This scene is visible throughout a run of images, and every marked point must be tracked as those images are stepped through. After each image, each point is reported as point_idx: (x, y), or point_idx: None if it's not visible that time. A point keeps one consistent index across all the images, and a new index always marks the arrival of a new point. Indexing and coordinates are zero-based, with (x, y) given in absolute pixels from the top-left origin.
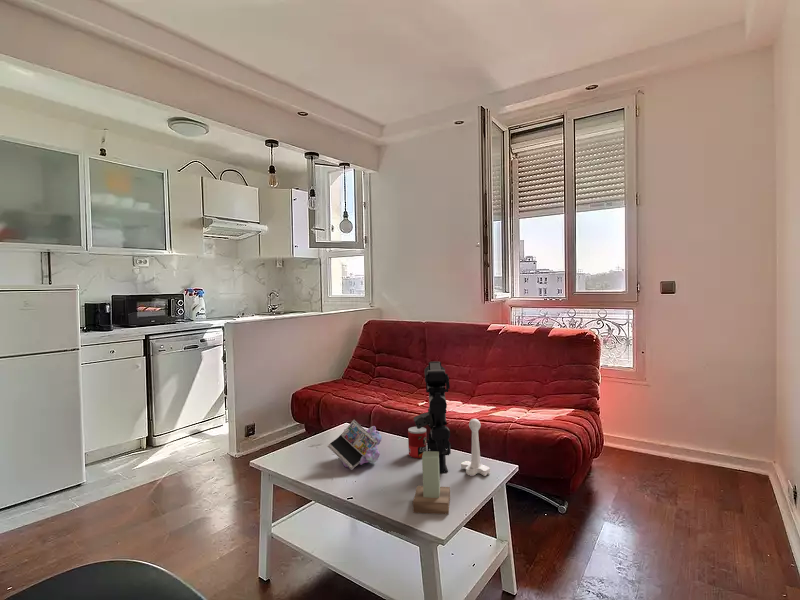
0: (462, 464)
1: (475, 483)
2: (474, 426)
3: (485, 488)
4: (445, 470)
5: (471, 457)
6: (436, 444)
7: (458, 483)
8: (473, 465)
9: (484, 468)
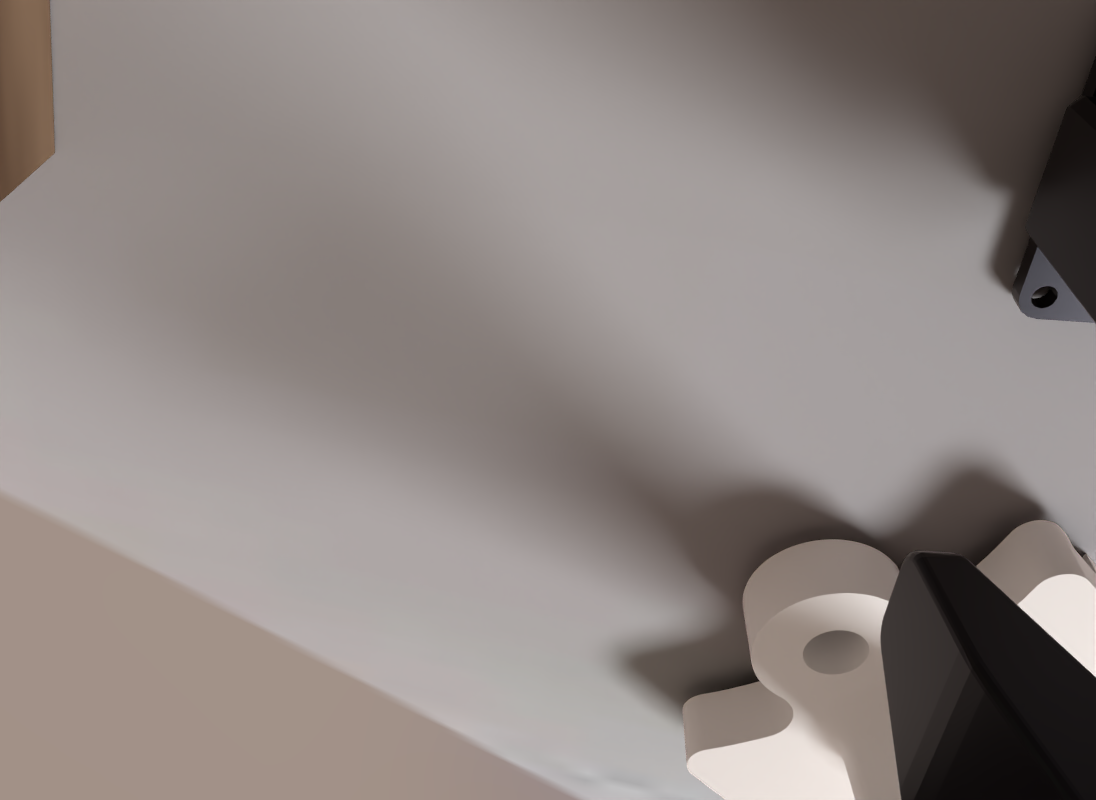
0: (1035, 582)
1: (510, 563)
2: None
3: (353, 624)
4: (1056, 280)
5: None
6: (907, 580)
7: (546, 369)
8: None
9: (765, 774)
